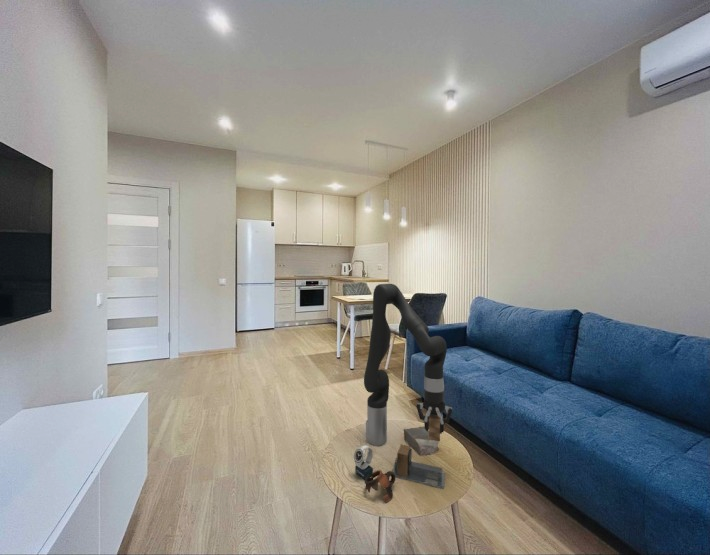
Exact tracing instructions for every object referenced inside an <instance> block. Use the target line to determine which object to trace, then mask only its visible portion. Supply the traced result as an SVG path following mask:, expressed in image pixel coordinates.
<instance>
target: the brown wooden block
mask: <svg viewBox="0 0 710 555" xmlns="http://www.w3.org/2000/svg"><path fill="white" fill-rule="evenodd" d="M427 429H428V430H429V440H434V441H439V442H440V441H441V434H440V418H438V415H434V414H432V415H431V414H430V415H429V418H427Z"/></svg>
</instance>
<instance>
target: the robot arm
mask: <svg viewBox="0 0 710 555" xmlns="http://www.w3.org/2000/svg"><path fill="white" fill-rule="evenodd" d="M372 297H373V298H372V321H371V322H372V323H371V331H370V338H369V347H368V348H369V349H368V355H367V361H366V366H365V371H364V376H363V386H364V389H365V390H366V391H367V392H368V393H371V394H370V395H369V396H368V397H367V401H366V402H367V404H366V406H367V416H366V417H367V418H366V419H367V420H366V421H365V442H367V443H368V444H370V445H371V446H378V447H379V446H383V445H385V444H386V443H387V440H388V439H387V438H388V436H387V435H388V431H387V430H388V428H387V427H388V421H387V420H388V416H387V414H388V399H389V398H390V397H389V394H390V380H389V379H390V377H389V374H388V373H387V371H386V370H384V369H380V366H381V364H382V361H383V359H384V357H385V356H386V354H387V353H388V351H389V349H390V345H391V335H392V333H391V332H392V330H391V328H390V326H389V323H388V320H387V317H386V313H387V312H386V311H387V306H388V305H391V304H392V305H393V306H394V307H395V308H396V309H397V310H398V311H399V313H400V317H401V321H402V322H403V325H404V327H405V328H406V329H407V330H408V332H409V333H410V334H411V335H412V337H413V338H414V340H415V342H416V344H417V346H418V348H419V350H420V351H421V352H422V353H423V354H424V355H426V356H427V357H429V359H428V360H426V362H425V363H424V379H423V380H424V381H423V397H424V399H423V401H422V402H420V401H418V402H416V405H415V406H416V409H417V414H418V417H419V420H421V421H423V422H424V428H425V430H426V431H428V430H429V429H427V418H429V415H430V414H431V415H432V414H434V415H438V418H440V435H441V434H442V433H444V431H445V424H447V425H448V424H449V422H450V419H451V416H452V412H453V407H452V406H448V405H446V404H445V382H444V381H445V380H444V364H445V360H446V357H447V350H448V347H447V343H446V340H445V338H443V337H442V336H440V335H435V336H429V334H428V333H429V331H430V329H429V326H428V325H427V324H426V323H425V322H424V320H423V319H422V318H420V316H419V315H418V314H417V313H416V312H415V310H414V309H413V307H412V306H411V305H410V303H409V302H408V300H407V299H406V298H405V296H404V294H403V292H402V291H401V290H400V288H399V287H398V286H397V285H396V284H394V283H381V284H377V285H376V286H375V287H374V289H373V294H372ZM423 407H424V409H425V411H426V413H425V415H424V413H423ZM444 410H445V412H446V416H445V418H444V416H443V412H444Z"/></svg>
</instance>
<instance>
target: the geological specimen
mask: <svg viewBox="0 0 710 555" xmlns="http://www.w3.org/2000/svg"><path fill="white" fill-rule="evenodd" d="M403 439H404V441H405V442H406V444H408V446H411V449H413V450H414V451H415V452H416V453H418V455H419V456H420V457H425V456H427V455H429V456H430V455H432V454H434V453H435V452H436V451H439V450H438V449H439V444H440V443H439V442H440V441H434V440H429V429H428V431H426V430H425V428H424V426H417V427H412V428H411V427H410V428H405V429H403Z"/></svg>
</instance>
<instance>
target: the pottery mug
mask: <svg viewBox="0 0 710 555" xmlns="http://www.w3.org/2000/svg"><path fill="white" fill-rule="evenodd" d="M395 483H396V477H395V474H394V472H392V470H389V471H387V472H385V473H384V472H383V471H382V470H380V469H378V470H376V471H373V473H372V477H370V476H368V477H367V478H366V479H365V481H364V484H365V488H364V489H365V490H367V492H368V493H369V494H370V493H371V489H372V490H374V491H379V488H378V487H379V485H380V487H381V488H382V489H385V491H386V494H385V495H383V497H382V499H383V501H384V502H385V504H387V503H389V501H391V500H392V498H393V496H394V494H393V493H394V492H393V486H394V484H395Z"/></svg>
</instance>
